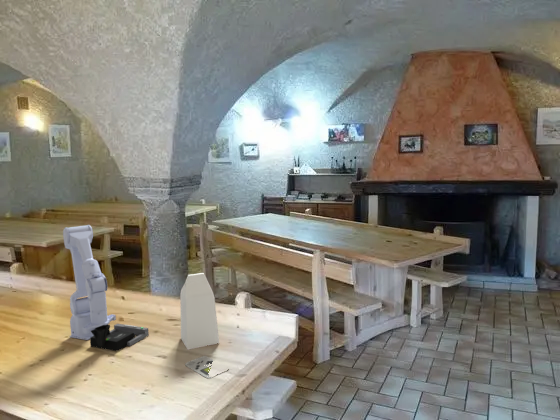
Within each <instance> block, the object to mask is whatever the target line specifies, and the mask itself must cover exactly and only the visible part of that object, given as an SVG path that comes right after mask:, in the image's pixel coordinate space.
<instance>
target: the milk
mask: <svg viewBox="0 0 560 420" xmlns="http://www.w3.org/2000/svg"><path fill="white" fill-rule="evenodd" d="M179 293H180V294H179V295H180V296H179V297H180V339H181V341H182V343H183V344H184V346H185V348H186V350H187V351H188V350H193V349H198V348H203V347H207V345H208V346H212V345H216V344H217V343H218V344H220V337H219V327H218V320H217V309H216V298H215V294H214V291H213V289H212V287H211V285H210V283H209V281H208V278H207V276H206V275H205V273H204V272H199V273H194V274H193V273H192V274H187V277H186V279H185V282H184V283H183V286H182V287H181V290H180V292H179ZM218 344H217V345H218Z"/></svg>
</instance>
